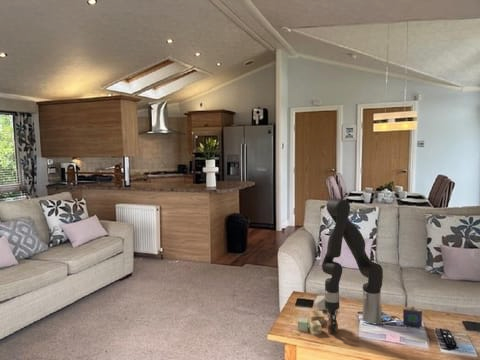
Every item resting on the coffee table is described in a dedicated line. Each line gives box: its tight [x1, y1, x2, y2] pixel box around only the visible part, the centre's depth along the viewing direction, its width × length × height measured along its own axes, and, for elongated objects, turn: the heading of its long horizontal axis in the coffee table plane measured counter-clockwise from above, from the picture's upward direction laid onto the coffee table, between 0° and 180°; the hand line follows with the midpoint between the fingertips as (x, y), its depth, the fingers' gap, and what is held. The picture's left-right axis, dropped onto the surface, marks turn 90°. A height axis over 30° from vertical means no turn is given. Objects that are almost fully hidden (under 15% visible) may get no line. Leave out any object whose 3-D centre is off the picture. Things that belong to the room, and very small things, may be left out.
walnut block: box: [326, 319, 339, 335], centre depth 191 cm, size 5×5×5 cm
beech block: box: [308, 320, 322, 336], centre depth 191 cm, size 5×5×5 cm
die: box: [314, 294, 328, 312], centre depth 216 cm, size 8×9×10 cm
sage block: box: [297, 317, 309, 333], centre depth 194 cm, size 5×5×5 cm
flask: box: [402, 305, 423, 328], centre depth 194 cm, size 9×3×11 cm, turn 74°
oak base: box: [309, 310, 325, 326], centre depth 201 cm, size 7×7×5 cm
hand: (331, 328), depth 191 cm, fingers open, 8 cm apart
